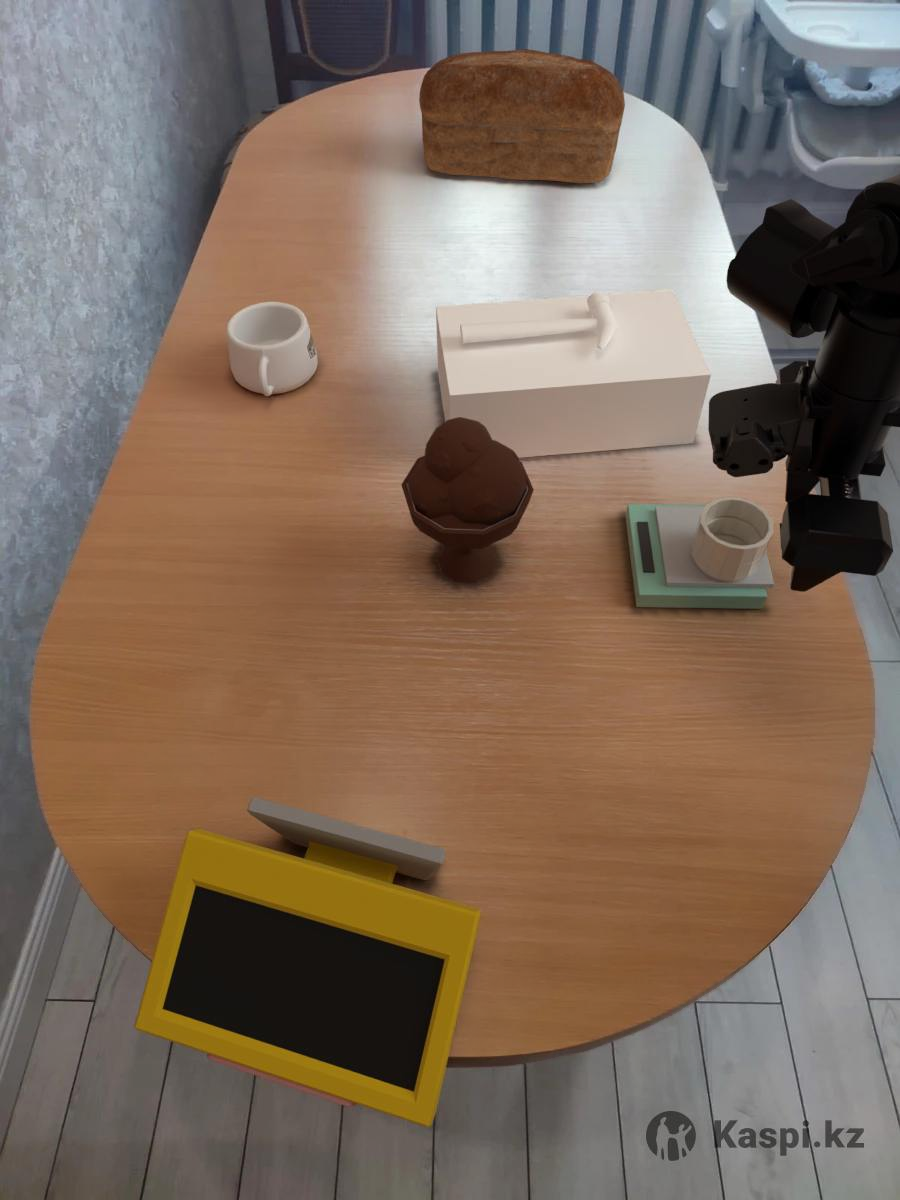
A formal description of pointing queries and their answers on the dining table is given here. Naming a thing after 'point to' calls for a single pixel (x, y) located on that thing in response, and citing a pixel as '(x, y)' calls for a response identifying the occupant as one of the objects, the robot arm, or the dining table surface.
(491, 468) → the ice cream bowl
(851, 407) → the robot arm
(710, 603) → the kitchen scale
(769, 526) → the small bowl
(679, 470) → the dining table surface
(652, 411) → the hammer topped box
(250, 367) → the mug
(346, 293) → the dining table surface
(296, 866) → the yellow framed monitor
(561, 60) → the bread
